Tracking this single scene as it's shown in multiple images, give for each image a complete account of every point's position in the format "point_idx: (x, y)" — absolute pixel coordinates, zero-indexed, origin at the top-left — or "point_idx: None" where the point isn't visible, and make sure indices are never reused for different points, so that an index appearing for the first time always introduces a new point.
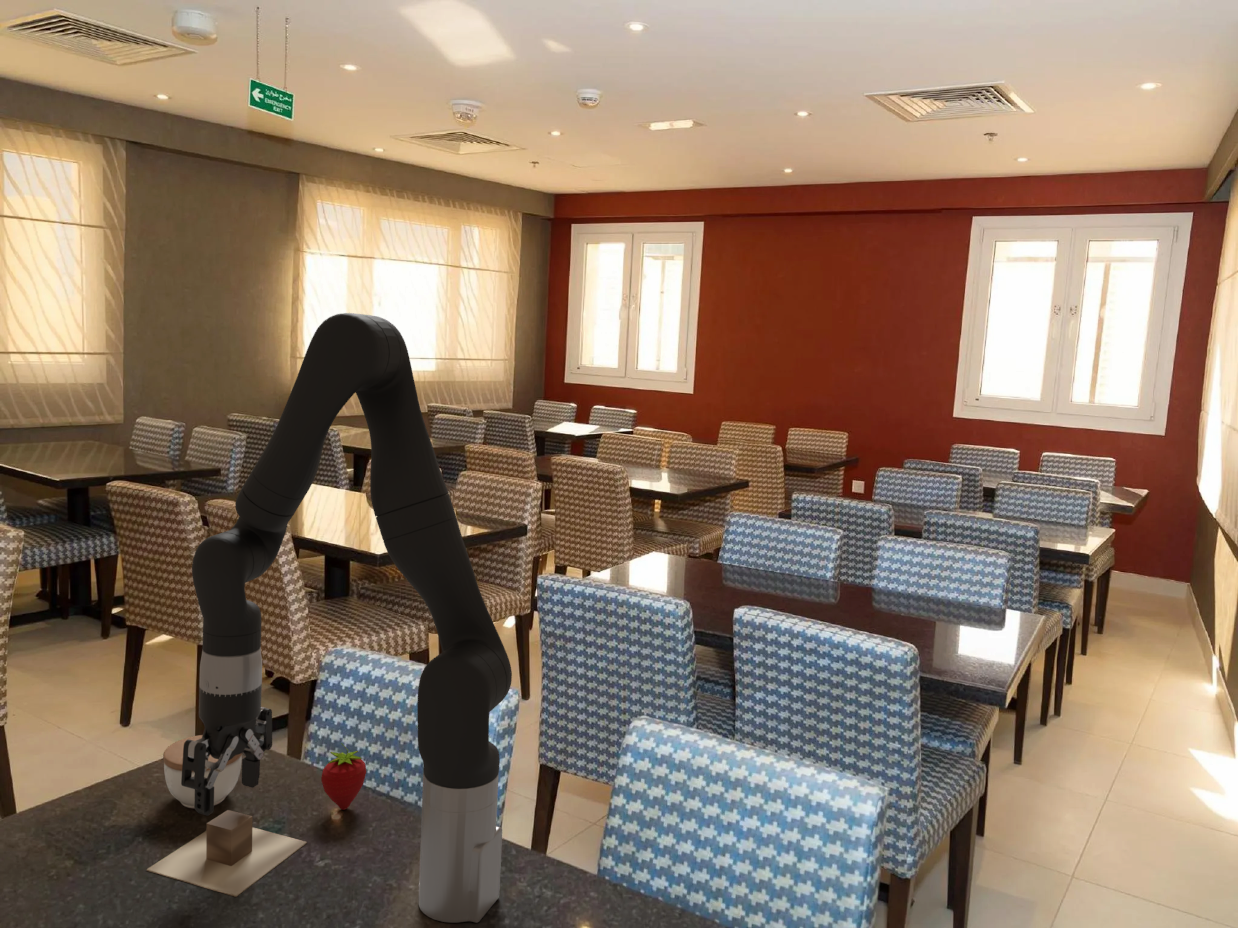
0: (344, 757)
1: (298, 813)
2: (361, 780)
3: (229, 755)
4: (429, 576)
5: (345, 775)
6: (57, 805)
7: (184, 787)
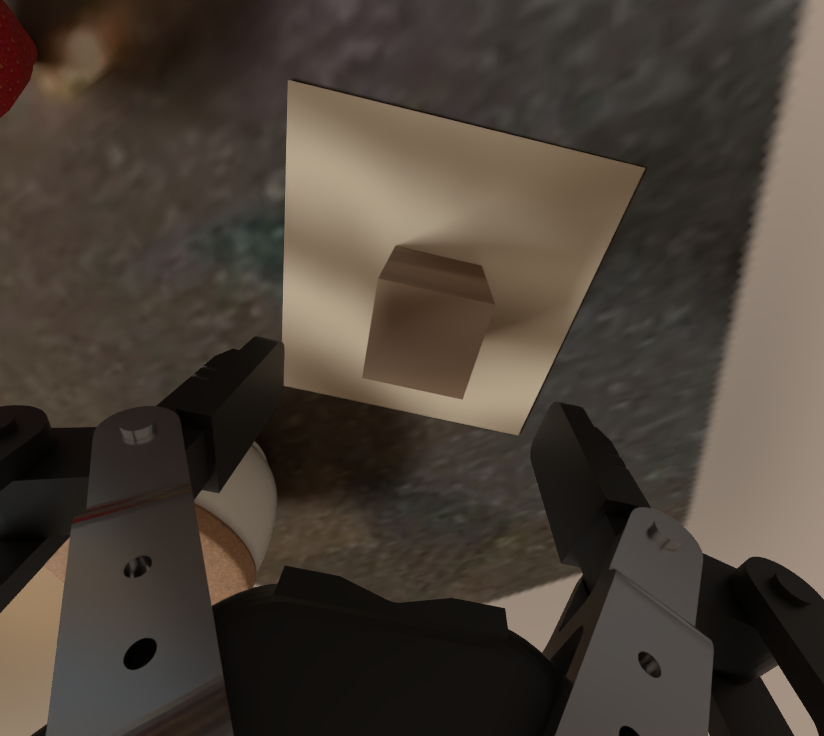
0: None
1: (151, 212)
2: None
3: (587, 697)
4: None
5: None
6: None
7: (270, 513)
